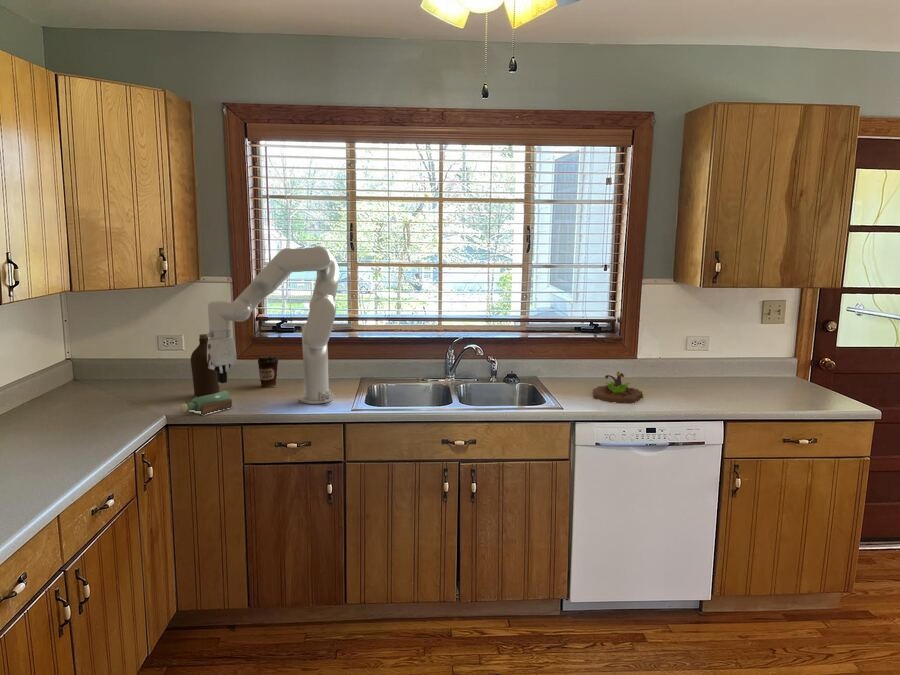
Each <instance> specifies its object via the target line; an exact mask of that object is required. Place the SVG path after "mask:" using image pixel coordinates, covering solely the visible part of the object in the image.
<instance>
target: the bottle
mask: <svg viewBox="0 0 900 675" xmlns="http://www.w3.org/2000/svg"><path fill="white" fill-rule="evenodd" d="M226 399H231V396H230V393H229V392H228V391H227V390H223V391H220V392H218V393H214V394H209V395H205V396H201V397H197V398H195V397H193V398H192V399H191V400H192V402H189V403H185V402H184V403H181V404H180V411H181V412H182V413H185V412H188V411H189V410H195V411H201V406H202V405H206V404H210V403H214V402H218V401H222V400H226Z"/></svg>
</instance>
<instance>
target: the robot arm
mask: <svg viewBox="0 0 900 675" xmlns="http://www.w3.org/2000/svg"><path fill="white" fill-rule="evenodd" d="M315 271H316V278H315V281H314V282H315V283H314V287H313V292H312V295H311V299H310V302H309V303H308V304H309V312H308V316H307V320H306V323H305V324H303V327H302V329H301V343H302V366H303V367H302V368H303V369H302V370H303V373H302V374H303V395H301V396H300V399H299V401H300V402H301V403H303V404H308V405H319V404H321V405H322V404H325V403H326V404H327V403H330V402H332V401H333V400H334V397H335V393H332V392H331V391H332V390H331V388H329V387H330V385H329V352H328V349H329V348H328V342H329V340H330V338H331V333H332V331H333V330H332V329H333V326H334V322H335V317H336V313H337V305H336V301H335V300H336V295H337V290H338V287H339V281H340V269H339V265H338V263H337V260H336V258H335V257H334V256H333V255H332V253H331V251H329V249H327V248H326V247H324V246H320V245H316V246H313V247H306V248H305V247H303V248H289V247H285V248H283V249H281V250H279V251H278V252H277V254H276V255H274V257H273V258H271V260H270V261H269V262H268V263H267V264H266V265H265V266H264V267H263V268H262V269H261V271H259V273H258V274H257V275H256V276H255V277H254V279H253V280H252V281H251V283H249V285H247V287H246V288H245V289H244V290H243V291H242V292H241V293H240V294H239V295H238V296H237V298H235V300H234V301H232V302H227V301H226V300H215V301H214V300H213V301H209V302H208V303H207V312H208V314H207V315H208V316H207V317H208V318H207V319H208V332H207V337H208V344H207V363H208V364H209V366H208V368H209V369H213V370H215V371H216V372H217V374H218V382H219V384H226V383H228V372H229V369H230V368H231V367H232V366H234V365H235V364H236V362H237V358H238V357H237V349H236V343H235V339H234V337H233V336H232V329H231V321H232V322H240V323H241V322H245V321H247V320H248V319H249V318H250V317H251V314H252V312H253V311H254V310H255V308H257V306H259V304H260V303H261V302H262V301H263V300H265V298H266V297H268V296H269V295H271V294H273V293H274V292H275V291H276V290H277V289H278V288H279V287H280V286H281V285H282V284H283V282H285V280H286V279H287V278H288V277H289V276H290V275H291V274H292V273H300V272H301V273H303V272H315Z"/></svg>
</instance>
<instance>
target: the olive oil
mask: <svg viewBox="0 0 900 675" xmlns="http://www.w3.org/2000/svg"><path fill="white" fill-rule="evenodd" d="M208 339H209V337H207V334H206V333H201V334H199V338H198V341H199V344H198V346H196V348H195V349H194V350H193V351H192V353H191V355H190V367H191V374H192V385H193V395H195V396H196V397H201V396H205V395H209V394H214V393H218V392H221V391H220V383H219V382H218V374H217V372H216V371H215V370H213V369H209V368H208V366H209V364H208V363H207V344H208ZM195 396H194V397H195Z"/></svg>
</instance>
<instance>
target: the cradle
mask: <svg viewBox="0 0 900 675" xmlns="http://www.w3.org/2000/svg"><path fill="white" fill-rule="evenodd" d="M189 402H192V399H190V400H185V401H184V403H189ZM231 407H232V408H233V400H232V398H230V399H226V400H222V401H218V402H214V403H210V404H206V405H202V406H201V414H203V415H205V414H207V413H210V412H214V411H218V410H223V409H227V408H231Z"/></svg>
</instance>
